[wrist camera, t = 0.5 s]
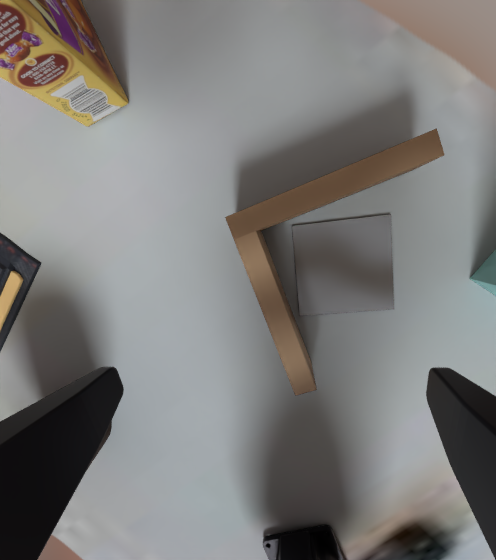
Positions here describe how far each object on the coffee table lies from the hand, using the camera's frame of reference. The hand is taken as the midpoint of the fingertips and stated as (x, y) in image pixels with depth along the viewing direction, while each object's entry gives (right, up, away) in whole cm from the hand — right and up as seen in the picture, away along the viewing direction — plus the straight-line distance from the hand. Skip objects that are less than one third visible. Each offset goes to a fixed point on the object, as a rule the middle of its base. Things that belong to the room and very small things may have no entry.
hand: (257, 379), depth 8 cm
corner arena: (+7, +4, +13) cm, 15 cm away
